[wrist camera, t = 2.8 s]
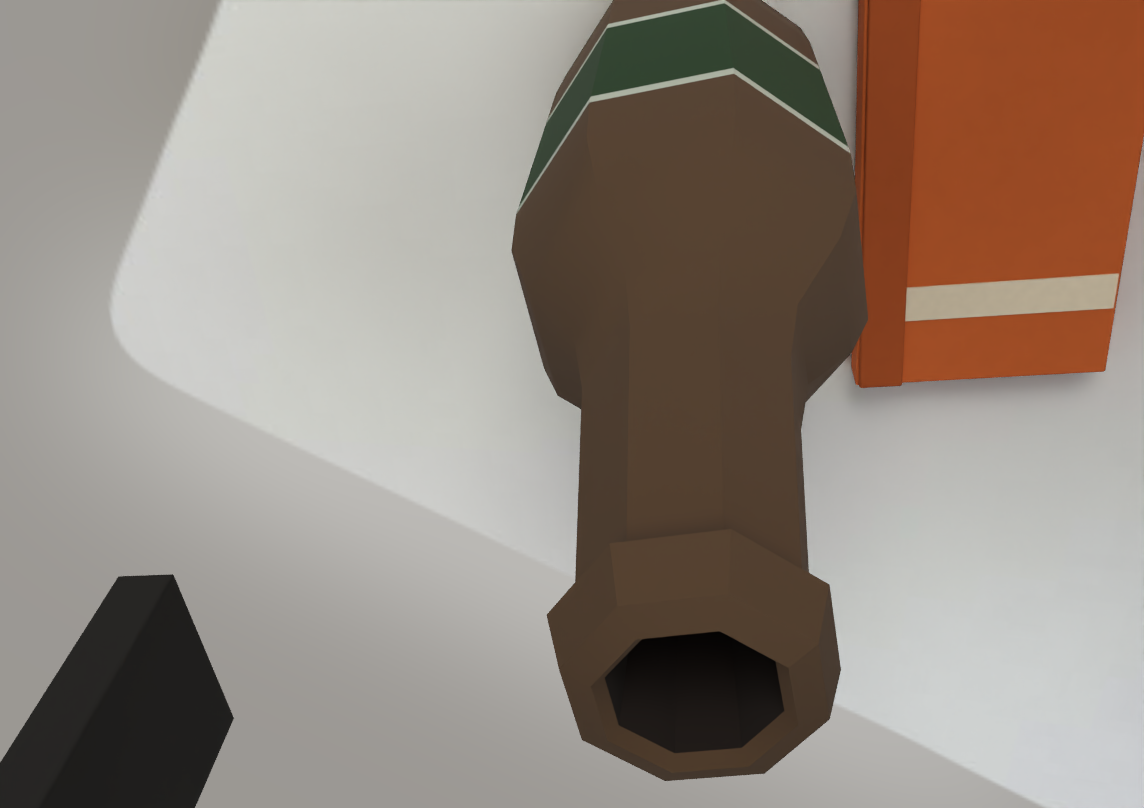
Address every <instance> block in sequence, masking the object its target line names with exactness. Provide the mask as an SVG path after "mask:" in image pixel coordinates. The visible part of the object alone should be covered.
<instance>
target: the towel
mask: <svg viewBox="0 0 1144 808" xmlns="http://www.w3.org/2000/svg"><path fill="white" fill-rule="evenodd" d="M1143 137H1144V0H859V3H858V54H857V106H856V157H855V185H856V193H857V203H858V214H859V225H860V235H861V246H862V257H863V268H864V278H865V289H866V300H867V310H868V321H867V323H866V325H865V327H864V329H863V331H862V333H861V335H860V337H859V339H858V341H857V343H856V345H855V347H854V349H853V351H852V362H851V367H852V371H853V375H854V379H855V383H856V385H859V386H860V388H868V387H887V386H901V385H902V383H903V382H921V381H939V380H958V379H976V378H994V377H1012V376H1030V375H1048V374H1066V373H1084V372H1102V371H1105V368H1106V362H1107V356H1108V350H1109V343H1110V337H1111V331H1112V325H1113V319H1114V313H1115V307H1116V301H1117V295H1118V289H1119V283H1120V277H1121V271H1122V265H1123V258H1124V252H1125V246H1126V240H1127V234H1128V228H1129V222H1130V216H1131V210H1132V204H1133V198H1134V192H1135V186H1136V180H1137V173H1138V167H1139V161H1140V155H1141V149H1142V143H1143Z"/></svg>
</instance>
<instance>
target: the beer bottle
mask: <svg viewBox="0 0 1144 808" xmlns="http://www.w3.org/2000/svg"><path fill="white" fill-rule="evenodd" d="M512 254H513V258H514V261H515V265H516V268H517V272H518V276H519V279H520V283H521V286H522V290H523V294H524V297H525V301H526V304H527V308H528V312H529V315H530V319H531V322H532V326H533V330H534V333H535V337H536V340H537V344H538V348H539V351H540V355H541V358H542V362H543V366H544V369H545V371H546V373H547V375H548V377H549V379H550V381H551V383H552V385H553V387H554V389H555V391H556V393H557V395H558V396H559V397H561V398H563V399H565V400H566V401H568V402H570V403H572V404H573V405H575V406H577V407H579V408H580V409H581V435H580V464H579V493H578V521H577V550H576V579H575V581H576V582H575V583H574V584H573V586H572V587H571V588H570V589H569V590H568V591H567V593H566V594H565V595H564V596H563V597H562V598H561V599H560V600H559V602H558V603H557V604H556V605H555V606H554V607H553V608H552V609H551V611H550V612H549V613H548V614H547V618H548V623H549V627H550V631H551V636H552V640H553V645H554V649H555V653H556V658H557V662H558V666H559V669H560V673H561V676H562V680H563V682H564V686H565V689H566V692H567V695H568V698H569V701H570V704H571V707H572V710H573V714H574V717H575V720H576V722H577V726H578V729H579V732H580V735H581V738H582V740H583V741H586V742H588V743H590V744H592V745H594V746H596V747H598V748H600V749H602V750H604V751H606V752H608V753H610V754H612V755H614V756H616V757H618V758H620V759H622V760H624V761H626V762H628V763H630V764H632V765H634V766H636V767H638V768H640V769H642V770H644V771H646V772H648V773H650V774H652V775H655V776H656V777H658V778H660V779H662V780H664V781H671V780H684V779H697V778H711V777H723V776H737V775H750V774H764V773H765V772H767V771H768V770H769V769H770V768H772V767H773V766H774V765H775V764H776V763H778V762H779V761H780V760H781V759H782V758H784V757H785V756H786V755H787V754H788V753H789V752H791V751H792V750H793V749H794V748H796V747H797V746H798V745H799V744H800V743H801V742H803V741H804V740H805V739H806V738H807V737H809V736H810V735H811V734H812V733H814V732H815V731H816V730H817V729H818V728H820V727H821V726H822V725H823V724H824V723H826V722H827V721H828V720H829V719H830V715H831V711H832V706H833V702H834V698H835V693H836V689H837V684H838V680H839V675H840V671H841V668H840V660H839V653H838V645H837V638H836V631H835V623H834V616H833V608H832V601H831V593H830V586H829V584H827V583H826V582H824V581H822V580H820V579H819V578H817V577H815V576H813V575H812V574H810V573H809V569H808V550H807V532H806V513H805V495H804V476H803V458H802V439H801V426H802V420H803V414H804V408H805V402H806V401H807V400H808V399H809V398H810V397H811V396H812V395H813V394H814V393H815V392H816V391H817V389H818V388H819V387H820V386H821V385H822V384H823V383H824V382H825V381H826V380H827V379H828V378H829V377H830V375H831V374H832V373H833V372H834V371H835V370H836V369H837V368H838V367H839V366H840V365H841V364H842V363H843V361H844V360H845V359H846V358H847V357H848V356H849V355H850V354H851V353H852V351H853V349H854V347H855V345H856V343H857V341H858V339H859V337H860V335H861V333H862V331H863V329H864V327H865V325H866V323H867V321H868V310H867V300H866V289H865V278H864V268H863V257H862V246H861V235H860V225H859V214H858V203H857V193H856V185H855V178H854V172H853V165H852V158H851V153H850V150H849V147H848V145H847V142H846V139H845V137H844V134H843V131H842V129H841V126H840V123H839V120H838V118H837V115H836V112H835V110H834V107H833V104H832V101H831V99H830V96H829V93H828V91H827V88H826V85H825V82H824V80H823V77H822V74H821V72H820V69H819V66H818V63H817V61H816V58H815V55H814V53H813V50H812V47H811V45H810V42H809V40H808V39H807V37H806V36H805V34H804V33H803V31H802V30H801V28H800V27H798V26H797V25H795V24H794V23H793V22H791V21H790V20H788V19H787V18H786V17H784V16H783V15H781V14H780V13H779V12H777V11H776V10H774V9H773V8H772V7H770V6H769V5H767V4H766V3H764V2H763V1H762V0H613V2H612V3H611V5H610V6H609V8H608V10H607V11H606V13H605V14H604V16H603V17H602V19H601V21H600V22H599V24H598V25H597V27H596V29H595V30H594V32H593V33H592V35H591V37H590V38H589V40H588V41H587V43H586V44H585V46H584V48H583V49H582V51H581V52H580V54H579V56H578V57H577V59H576V60H575V62H574V64H573V65H572V67H571V68H570V70H569V71H568V73H567V75H566V76H565V78H564V80H563V82H562V84H561V85H560V87H559V89H558V91H557V93H556V96H555V99H554V102H553V105H552V108H551V111H550V114H549V117H548V120H547V123H546V126H545V129H544V132H543V135H542V138H541V141H540V144H539V147H538V150H537V153H536V156H535V159H534V162H533V165H532V168H531V171H530V174H529V178H528V181H527V184H526V187H525V190H524V193H523V196H522V199H521V202H520V205H519V208H518V211H517V214H516V221H515V228H514V236H513V244H512Z"/></svg>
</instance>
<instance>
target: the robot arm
mask: <svg viewBox="0 0 1144 808" xmlns="http://www.w3.org/2000/svg"><path fill="white" fill-rule="evenodd" d="M233 719H234V718H233V715H232V713H231V710H230V708H229V706H228V703H227V701H226V699H225V696H224V694H223V692H222V689H221V687H220V684H219V682H218V680H217V677H216V675H215V673H214V670H213V668H212V665H211V663H210V661H209V658H208V656H207V653H206V651H205V649H204V646H203V644H202V642H201V639H200V637H199V635H198V632H197V630H196V627H195V625H194V623H193V620H192V618H191V616H190V614H189V611H188V608H187V606H186V604H185V601H184V599H183V597H182V594H181V592H180V590H179V587H178V585H177V582H176V580H175V578H174V575H149V576H123V577H118V578H117V580H116V582H115V583H114V585H113V586H112V588H111V589H110V591H109V593H108V594H107V596H106V597H105V599H104V600H103V602H102V603H101V605H100V607H99V608H98V610H97V611H96V613H95V614H94V616H93V618H92V619H91V621H90V622H89V624H88V625H87V627H86V629H85V630H84V632H83V633H82V635H81V636H80V638H79V640H78V641H77V643H76V644H75V646H74V647H73V649H72V651H71V652H70V654H69V655H68V657H67V659H66V660H65V662H64V663H63V665H62V667H61V668H60V670H59V671H58V673H57V674H56V676H55V677H54V679H53V681H52V682H51V684H50V685H49V687H48V688H47V690H46V692H45V693H44V695H43V696H42V698H41V699H40V701H39V703H38V704H37V706H36V707H35V709H34V711H33V712H32V714H31V715H30V717H29V719H28V720H27V722H26V723H25V725H24V726H23V728H22V729H21V731H20V732H19V734H18V736H17V737H16V739H15V740H14V742H13V743H12V745H11V747H10V748H9V750H8V752H7V753H6V755H5V756H4V758H3V759H2V761H1V762H0V808H195V806H196V804H197V801H198V799H199V797H200V795H201V792H202V790H203V788H204V785H205V783H206V781H207V778H208V776H209V774H210V772H211V769H212V767H213V765H214V762H215V760H216V758H217V756H218V753H219V751H220V749H221V746H222V744H223V742H224V739H225V737H226V735H227V733H228V730H229V728H230V726H231V723H232V721H233Z"/></svg>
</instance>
